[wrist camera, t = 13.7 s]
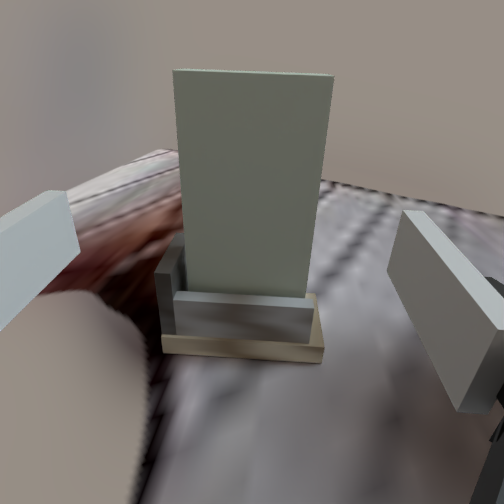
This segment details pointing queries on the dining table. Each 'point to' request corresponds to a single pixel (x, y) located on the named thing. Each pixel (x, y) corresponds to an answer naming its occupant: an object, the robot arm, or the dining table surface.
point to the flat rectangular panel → (250, 177)
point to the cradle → (233, 319)
